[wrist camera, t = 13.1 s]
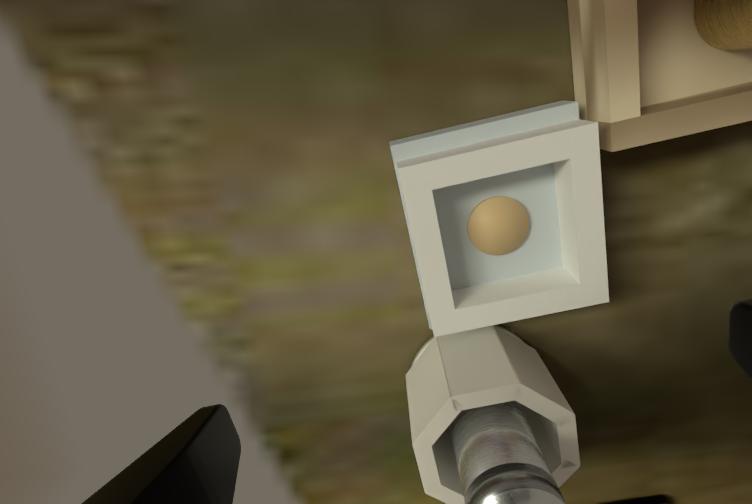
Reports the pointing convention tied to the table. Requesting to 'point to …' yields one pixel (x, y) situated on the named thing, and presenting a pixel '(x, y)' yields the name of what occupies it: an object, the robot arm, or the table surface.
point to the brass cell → (724, 23)
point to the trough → (653, 72)
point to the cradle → (505, 217)
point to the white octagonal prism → (483, 402)
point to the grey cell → (501, 457)
